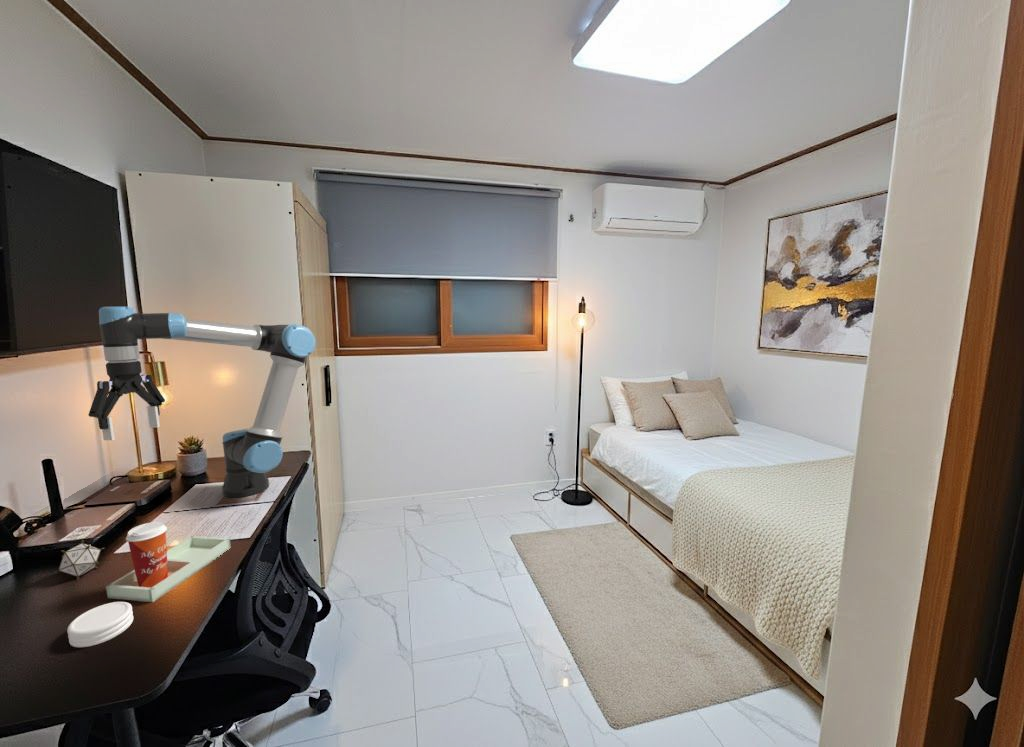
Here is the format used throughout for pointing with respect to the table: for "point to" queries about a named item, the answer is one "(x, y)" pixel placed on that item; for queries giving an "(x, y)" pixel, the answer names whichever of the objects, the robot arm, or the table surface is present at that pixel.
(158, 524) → the paper cup
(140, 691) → the table surface
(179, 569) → the mint green tray
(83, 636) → the coaster
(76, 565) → the game die
